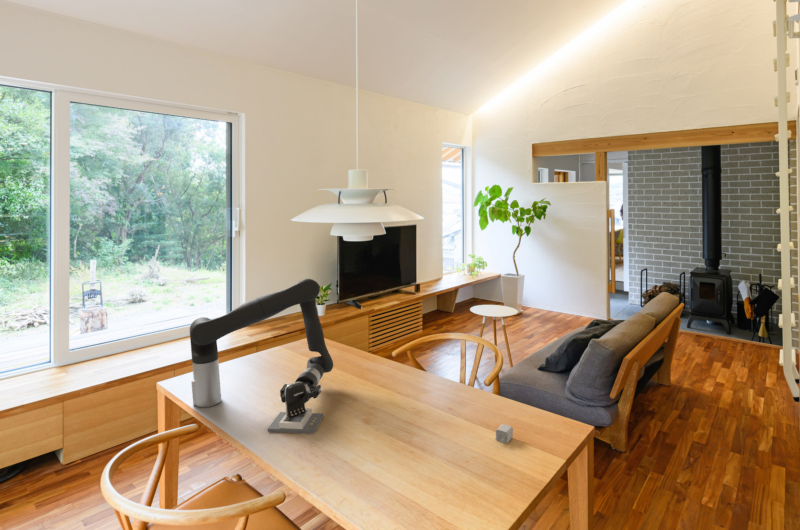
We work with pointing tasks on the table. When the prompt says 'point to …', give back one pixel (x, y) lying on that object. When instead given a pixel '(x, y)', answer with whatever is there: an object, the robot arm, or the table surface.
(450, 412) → the table surface
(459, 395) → the table surface
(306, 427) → the charging dock
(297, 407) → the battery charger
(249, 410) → the table surface
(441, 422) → the table surface
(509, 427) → the usb wall charger
